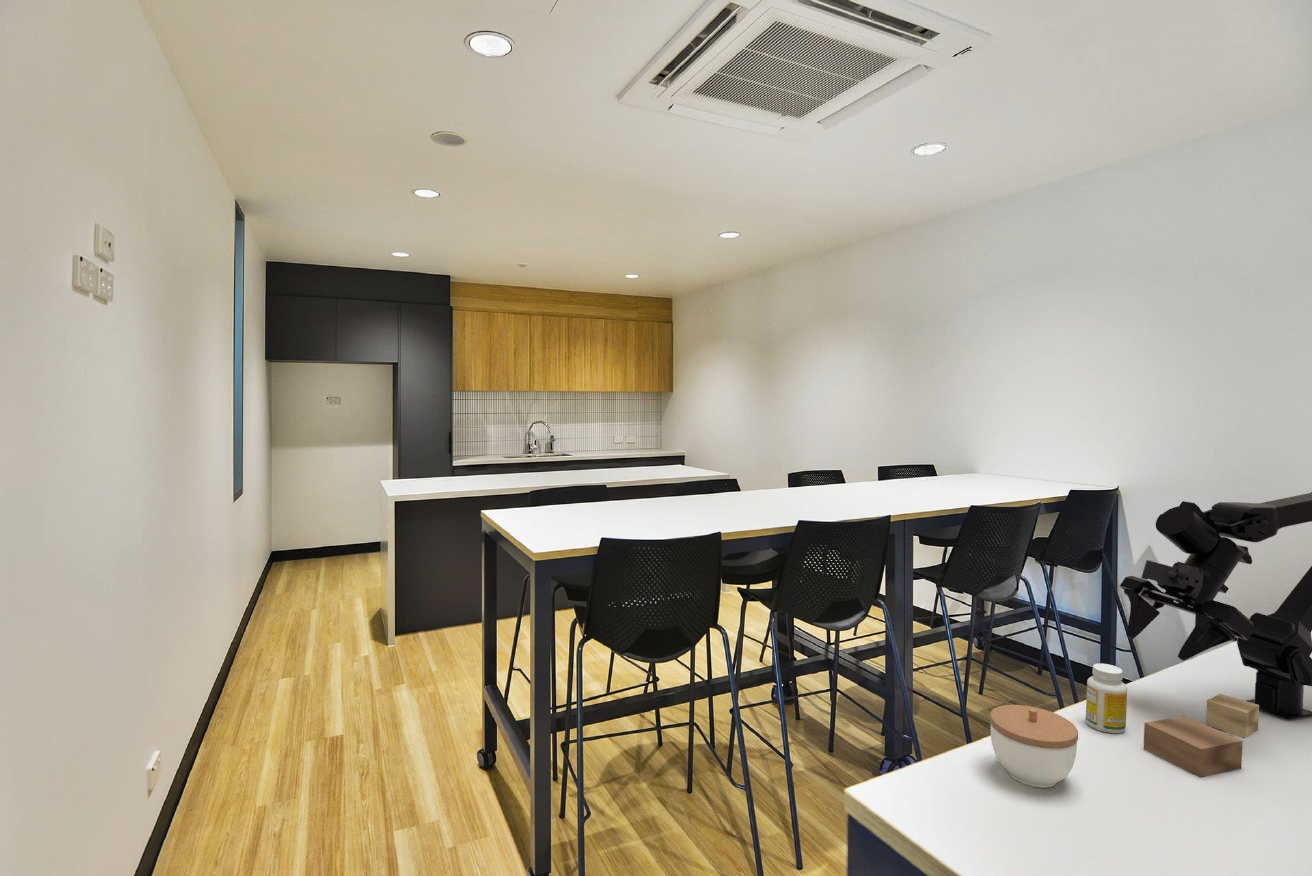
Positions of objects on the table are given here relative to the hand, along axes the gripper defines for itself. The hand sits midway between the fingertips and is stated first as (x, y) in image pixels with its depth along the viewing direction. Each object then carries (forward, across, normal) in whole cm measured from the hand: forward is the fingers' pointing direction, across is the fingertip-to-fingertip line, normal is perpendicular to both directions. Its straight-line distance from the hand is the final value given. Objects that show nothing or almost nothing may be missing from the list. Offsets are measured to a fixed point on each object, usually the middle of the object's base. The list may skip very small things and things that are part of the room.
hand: (1153, 647), depth 107 cm
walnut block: (+12, +11, +4) cm, 17 cm away
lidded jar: (+28, +11, -17) cm, 35 cm away
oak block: (+3, +4, +16) cm, 17 cm away
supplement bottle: (+15, 0, +1) cm, 15 cm away
